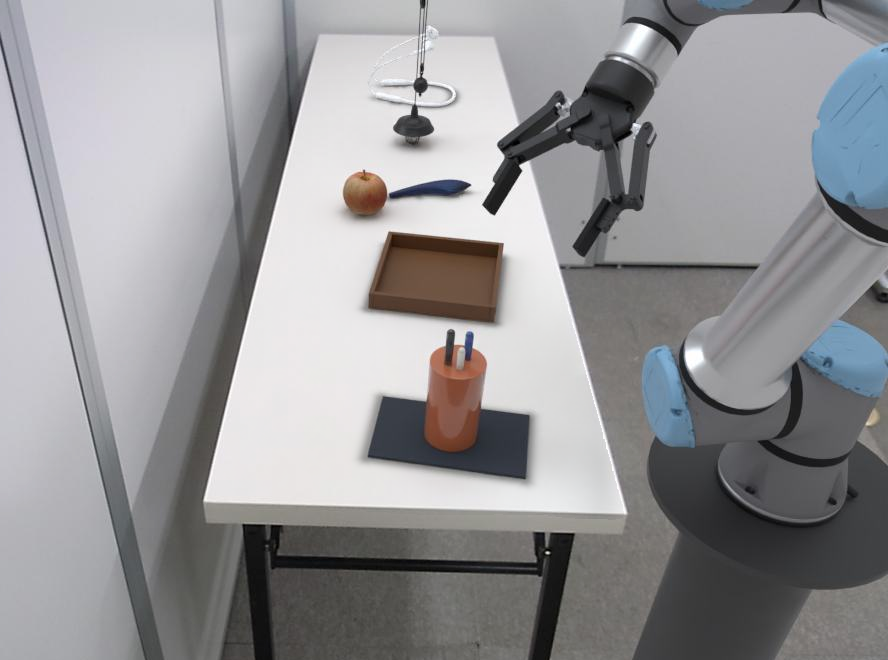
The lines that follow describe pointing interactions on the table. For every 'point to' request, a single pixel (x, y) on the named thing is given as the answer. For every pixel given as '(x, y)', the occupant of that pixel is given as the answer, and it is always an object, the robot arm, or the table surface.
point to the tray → (438, 276)
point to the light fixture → (414, 122)
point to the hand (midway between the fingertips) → (531, 230)
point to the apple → (364, 193)
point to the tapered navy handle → (433, 188)
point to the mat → (490, 454)
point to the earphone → (428, 48)
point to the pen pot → (454, 394)
